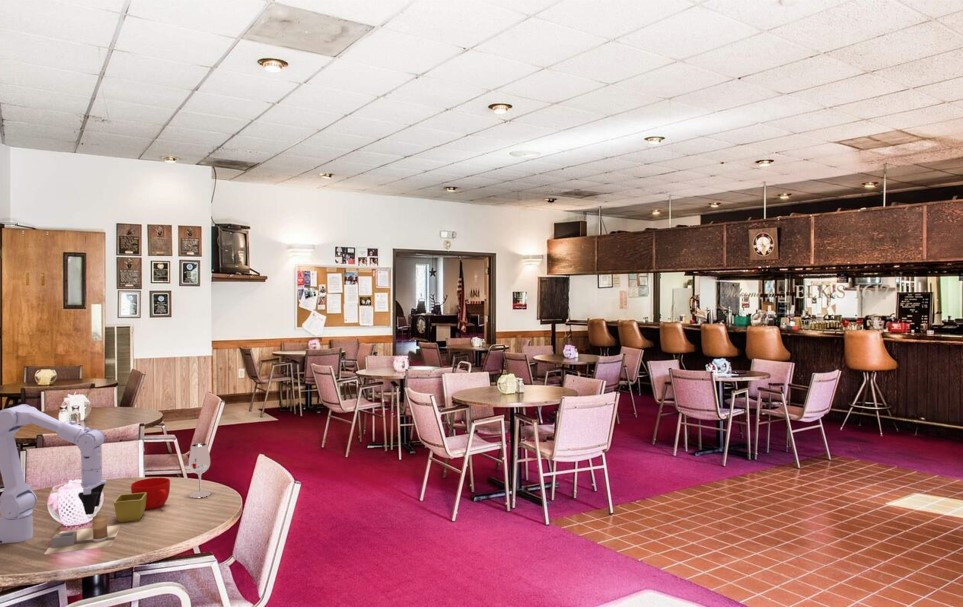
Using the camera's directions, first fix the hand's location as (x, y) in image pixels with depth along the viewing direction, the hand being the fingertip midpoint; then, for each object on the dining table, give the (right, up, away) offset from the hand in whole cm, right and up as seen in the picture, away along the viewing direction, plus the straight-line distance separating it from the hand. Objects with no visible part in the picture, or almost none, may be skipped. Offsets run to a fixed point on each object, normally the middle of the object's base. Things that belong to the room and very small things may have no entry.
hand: (92, 510), depth 216 cm
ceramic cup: (+5, -10, +30) cm, 32 cm away
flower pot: (+3, -10, +18) cm, 21 cm away
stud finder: (-5, -9, -6) cm, 12 cm away
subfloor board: (-2, -10, -1) cm, 11 cm away
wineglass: (+15, -9, +47) cm, 50 cm away
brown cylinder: (+4, -9, -2) cm, 10 cm away
